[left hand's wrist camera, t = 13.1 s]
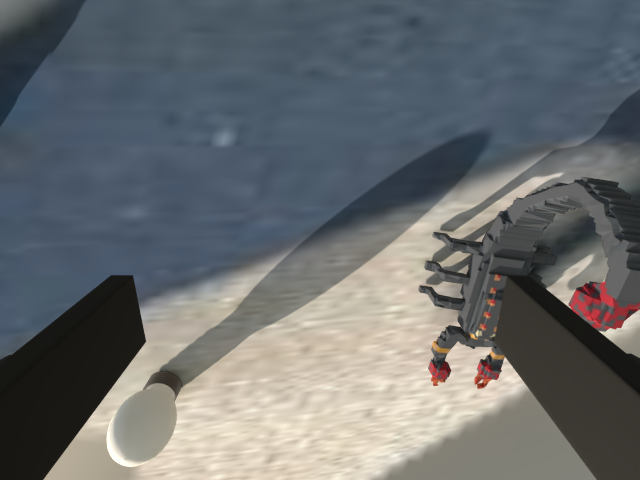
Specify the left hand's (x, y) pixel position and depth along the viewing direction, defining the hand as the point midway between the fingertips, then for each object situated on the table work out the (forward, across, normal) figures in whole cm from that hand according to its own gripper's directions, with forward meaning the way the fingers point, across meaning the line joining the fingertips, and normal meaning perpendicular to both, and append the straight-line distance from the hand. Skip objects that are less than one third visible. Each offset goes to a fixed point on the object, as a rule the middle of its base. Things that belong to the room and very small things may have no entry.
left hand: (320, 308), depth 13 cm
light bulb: (+27, -20, -27) cm, 43 cm away
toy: (+27, +18, -12) cm, 34 cm away
